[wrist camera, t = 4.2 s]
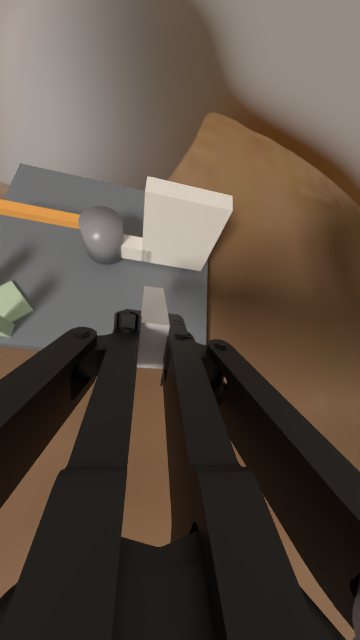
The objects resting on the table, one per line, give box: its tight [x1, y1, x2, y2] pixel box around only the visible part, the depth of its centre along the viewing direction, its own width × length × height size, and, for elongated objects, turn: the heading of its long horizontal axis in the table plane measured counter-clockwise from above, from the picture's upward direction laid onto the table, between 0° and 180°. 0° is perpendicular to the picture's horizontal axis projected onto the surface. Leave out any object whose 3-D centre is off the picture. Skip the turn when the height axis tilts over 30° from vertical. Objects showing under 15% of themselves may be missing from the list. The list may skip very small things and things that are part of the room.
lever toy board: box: [0, 164, 208, 351], centre depth 23 cm, size 24×22×8 cm
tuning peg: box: [0, 176, 233, 271], centre depth 20 cm, size 22×4×9 cm, turn 86°
